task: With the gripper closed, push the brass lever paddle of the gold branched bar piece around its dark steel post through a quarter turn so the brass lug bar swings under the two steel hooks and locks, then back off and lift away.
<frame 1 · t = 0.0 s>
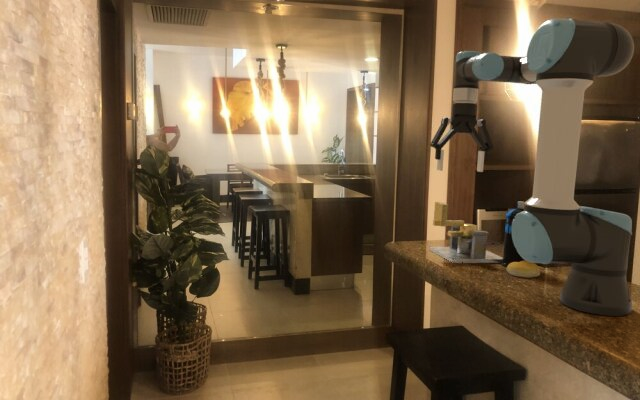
hand: (459, 171, 169), 28 cm above the counter, fingers open, 13 cm apart
gold branched bar piece: (461, 220, 173), point 12 cm above the counter, hinge at 0.0°
socket base: (466, 256, 175), on the counter
aerosol can: (515, 266, 164), on the counter
bread roll: (522, 275, 155), on the counter
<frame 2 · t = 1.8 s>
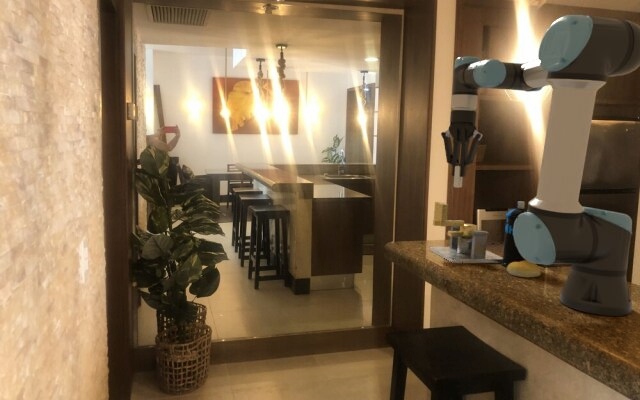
hand: (457, 187, 165), 23 cm above the counter, fingers closed
nothing on the counter moved.
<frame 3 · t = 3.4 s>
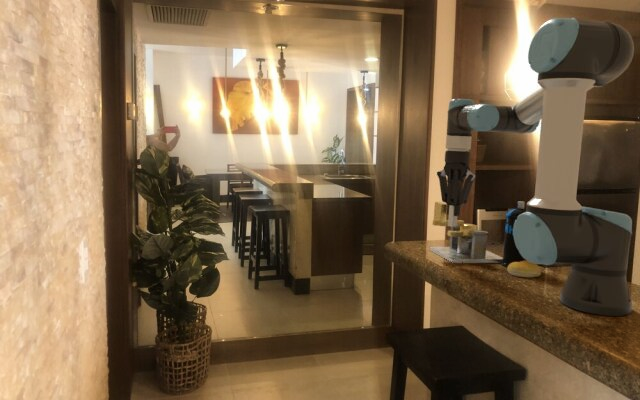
hand: (452, 225, 167), 11 cm above the counter, fingers closed
gold branched bar piece: (461, 220, 173), point 12 cm above the counter, hinge at -2.6°, touching gripper
everything else where it was.
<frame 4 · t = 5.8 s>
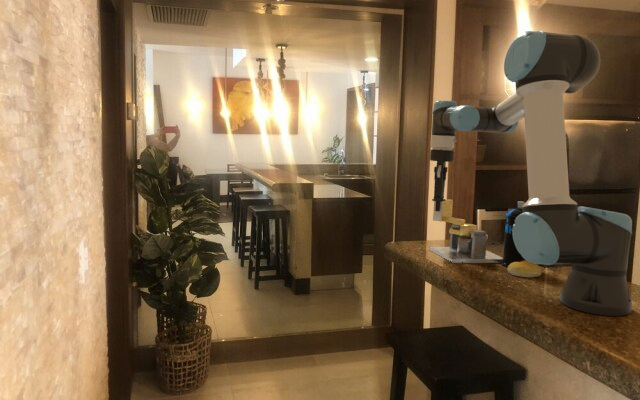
hand: (437, 220, 176), 11 cm above the counter, fingers closed
gold branched bar piece: (462, 219, 176), point 12 cm above the counter, hinge at -61.8°, touching gripper
everything else where it was.
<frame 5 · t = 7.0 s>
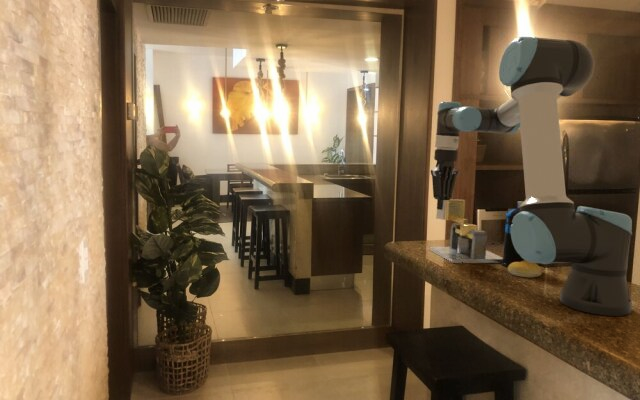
hand: (440, 218, 180), 11 cm above the counter, fingers closed
gold branched bar piece: (465, 218, 176), point 12 cm above the counter, hinge at -88.4°, touching gripper
everything else where it was.
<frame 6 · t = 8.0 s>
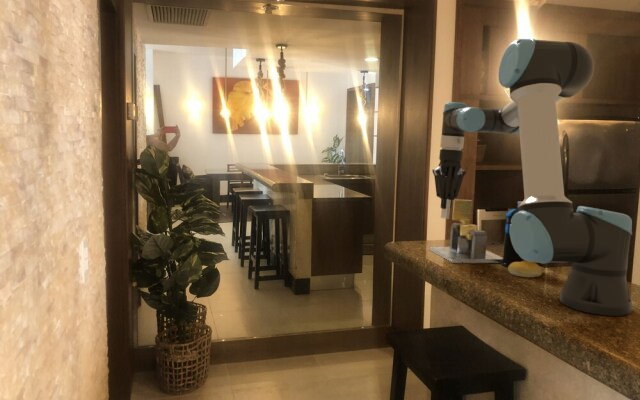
hand: (444, 218, 182), 11 cm above the counter, fingers closed
gold branched bar piece: (467, 218, 176), point 12 cm above the counter, hinge at -102.3°, touching gripper
everything else where it was.
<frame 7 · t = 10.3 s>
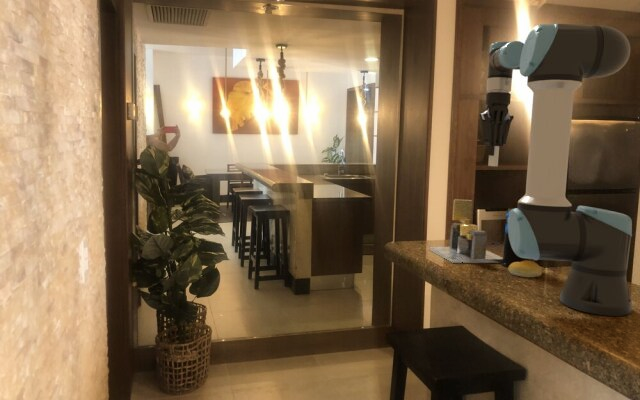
hand: (492, 166, 173), 30 cm above the counter, fingers closed
gold branched bar piece: (467, 218, 176), point 12 cm above the counter, hinge at -102.4°
everything else where it was.
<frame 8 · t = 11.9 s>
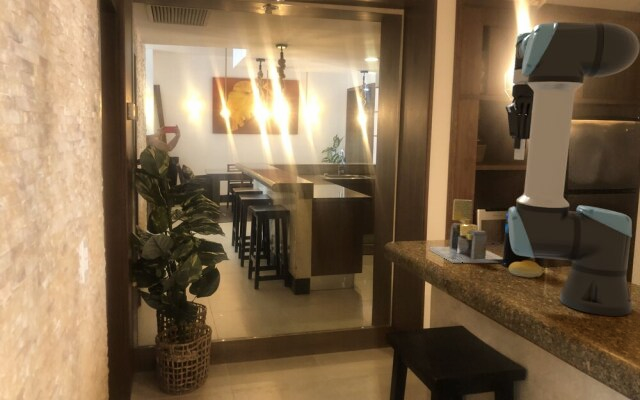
hand: (518, 159, 171), 32 cm above the counter, fingers closed
nothing on the counter moved.
at the end: gold branched bar piece at -102° (first picture: +0°); the gripper is holding nothing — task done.
